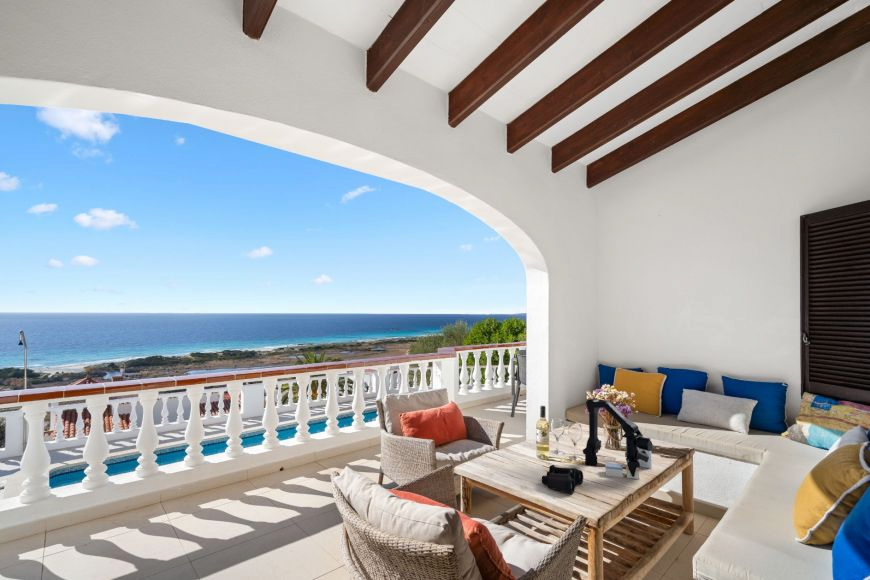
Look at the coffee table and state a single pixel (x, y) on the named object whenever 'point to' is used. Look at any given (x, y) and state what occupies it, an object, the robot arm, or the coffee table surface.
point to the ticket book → (614, 470)
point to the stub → (630, 473)
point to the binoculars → (563, 478)
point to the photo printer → (646, 464)
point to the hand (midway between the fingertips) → (632, 474)
